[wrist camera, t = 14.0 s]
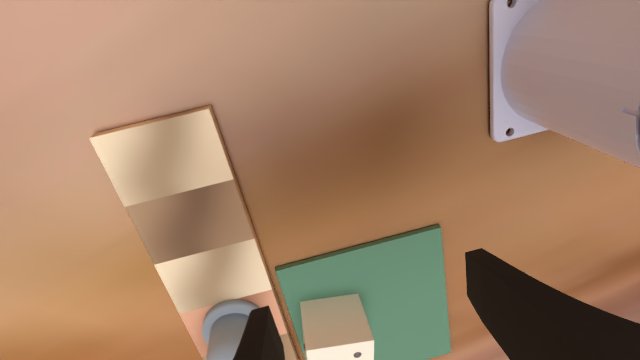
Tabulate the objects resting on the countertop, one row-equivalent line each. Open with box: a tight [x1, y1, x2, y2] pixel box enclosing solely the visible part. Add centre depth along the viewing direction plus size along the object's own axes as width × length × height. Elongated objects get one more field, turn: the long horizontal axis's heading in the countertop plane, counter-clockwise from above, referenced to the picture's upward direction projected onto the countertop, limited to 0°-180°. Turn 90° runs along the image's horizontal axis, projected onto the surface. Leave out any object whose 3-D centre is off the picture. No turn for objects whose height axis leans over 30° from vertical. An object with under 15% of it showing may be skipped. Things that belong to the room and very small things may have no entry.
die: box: [300, 294, 374, 360], centre depth 24 cm, size 4×4×4 cm
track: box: [89, 105, 299, 360], centre depth 23 cm, size 6×20×1 cm, turn 12°
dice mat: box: [275, 224, 451, 360], centre depth 27 cm, size 11×12×1 cm
